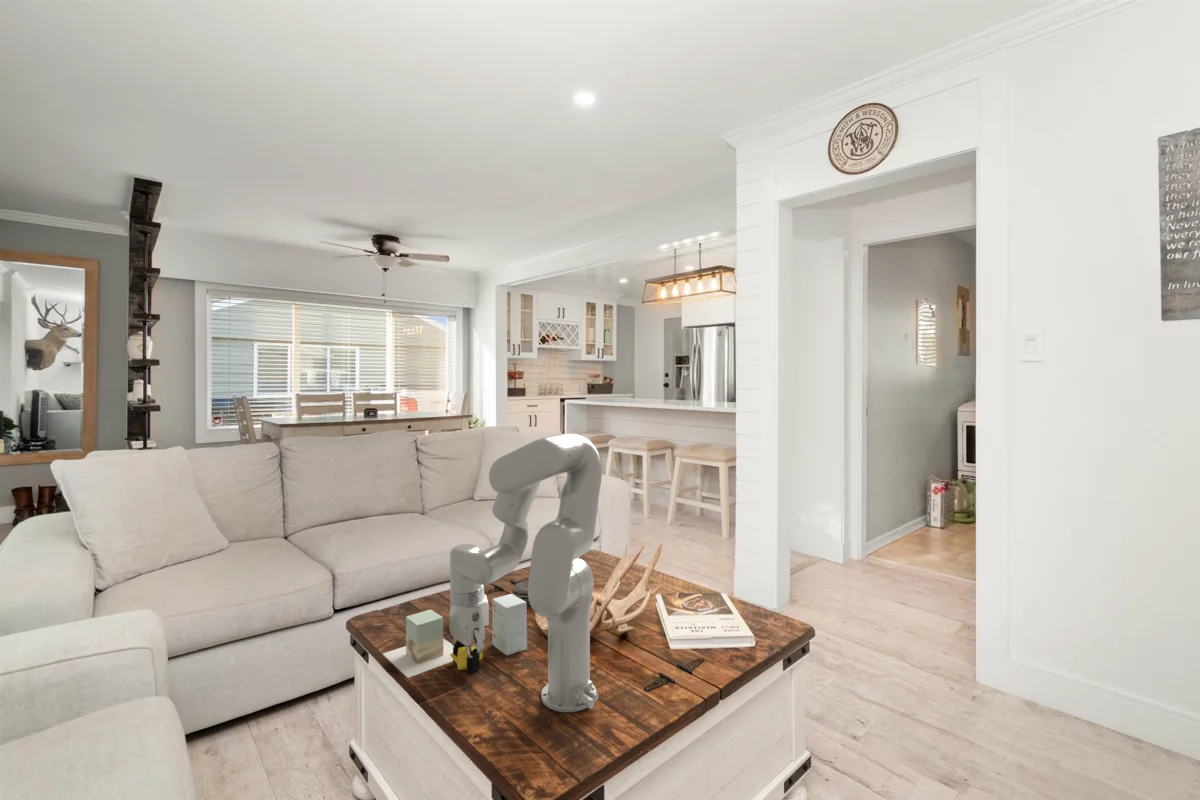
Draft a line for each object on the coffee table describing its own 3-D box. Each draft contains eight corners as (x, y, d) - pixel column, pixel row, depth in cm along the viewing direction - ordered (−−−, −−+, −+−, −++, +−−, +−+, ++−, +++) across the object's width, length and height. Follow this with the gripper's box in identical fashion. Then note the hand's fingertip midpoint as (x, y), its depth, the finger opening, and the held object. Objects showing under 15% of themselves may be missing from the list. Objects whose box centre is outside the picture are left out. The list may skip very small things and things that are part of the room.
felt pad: (467, 657, 145) (467, 655, 145) (408, 679, 135) (408, 677, 134) (439, 636, 157) (439, 634, 157) (382, 655, 146) (382, 653, 146)
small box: (527, 649, 149) (527, 601, 149) (506, 657, 145) (506, 608, 145) (512, 638, 156) (511, 592, 155) (491, 645, 152) (491, 598, 151)
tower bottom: (443, 655, 146) (443, 636, 145) (417, 664, 141) (417, 644, 141) (431, 645, 151) (431, 627, 151) (406, 654, 146) (406, 635, 146)
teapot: (450, 676, 136) (450, 656, 135) (450, 665, 141) (450, 645, 141) (483, 672, 138) (483, 652, 138) (482, 661, 143) (482, 641, 143)
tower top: (443, 636, 145) (443, 617, 145) (417, 644, 141) (417, 625, 140) (431, 627, 151) (431, 609, 150) (406, 635, 146) (405, 616, 146)
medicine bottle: (462, 619, 168) (461, 580, 168) (486, 616, 170) (485, 577, 170) (463, 629, 161) (463, 588, 161) (488, 626, 164) (488, 585, 163)
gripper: (497, 601, 135) (497, 674, 136) (462, 582, 148) (462, 648, 149) (469, 610, 130) (469, 685, 131) (435, 589, 143) (436, 658, 143)
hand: (466, 665), depth 140 cm, fingers closed on teapot, 6 cm apart
